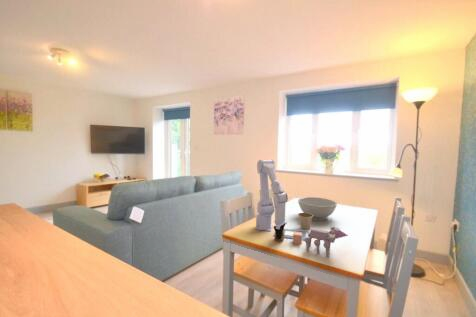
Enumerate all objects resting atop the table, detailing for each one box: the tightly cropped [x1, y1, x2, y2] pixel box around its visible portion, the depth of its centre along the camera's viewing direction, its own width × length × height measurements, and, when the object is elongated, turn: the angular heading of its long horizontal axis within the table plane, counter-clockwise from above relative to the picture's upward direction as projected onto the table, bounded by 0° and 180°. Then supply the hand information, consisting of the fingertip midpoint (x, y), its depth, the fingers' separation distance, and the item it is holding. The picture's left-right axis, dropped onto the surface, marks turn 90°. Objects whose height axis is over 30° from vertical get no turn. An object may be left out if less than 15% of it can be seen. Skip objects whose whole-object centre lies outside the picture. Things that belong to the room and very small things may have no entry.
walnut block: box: [274, 230, 285, 243], centre depth 133 cm, size 4×4×5 cm
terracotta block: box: [292, 232, 303, 245], centre depth 130 cm, size 4×4×5 cm
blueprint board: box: [273, 228, 307, 242], centre depth 141 cm, size 18×13×1 cm
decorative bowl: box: [297, 196, 338, 221], centre depth 172 cm, size 27×27×12 cm
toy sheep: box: [304, 226, 349, 258], centre depth 118 cm, size 20×11×14 cm, turn 58°
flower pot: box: [297, 212, 313, 230], centre depth 151 cm, size 9×9×9 cm
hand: (279, 237), depth 133 cm, fingers closed on walnut block, 4 cm apart
